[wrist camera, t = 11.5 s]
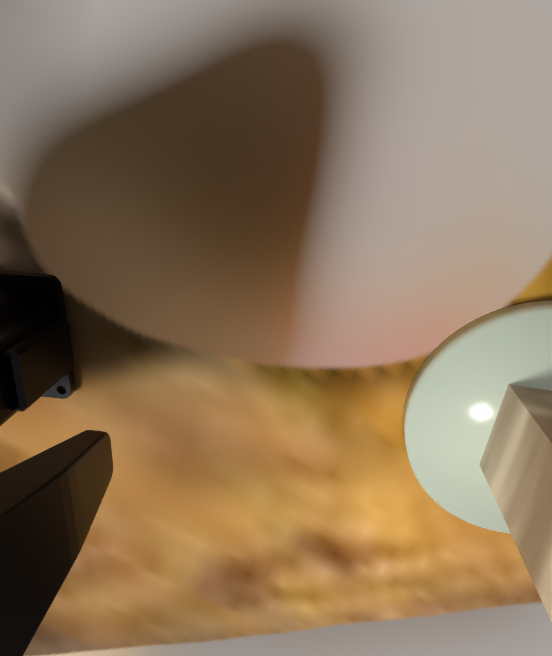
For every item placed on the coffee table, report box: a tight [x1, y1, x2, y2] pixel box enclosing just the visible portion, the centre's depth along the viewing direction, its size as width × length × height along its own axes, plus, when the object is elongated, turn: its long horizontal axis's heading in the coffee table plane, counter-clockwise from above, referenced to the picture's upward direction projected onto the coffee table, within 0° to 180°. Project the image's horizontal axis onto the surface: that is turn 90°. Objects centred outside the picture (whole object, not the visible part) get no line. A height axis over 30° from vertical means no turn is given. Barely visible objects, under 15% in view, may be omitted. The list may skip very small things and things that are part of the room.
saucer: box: [402, 300, 552, 534], centre depth 22 cm, size 12×12×1 cm
